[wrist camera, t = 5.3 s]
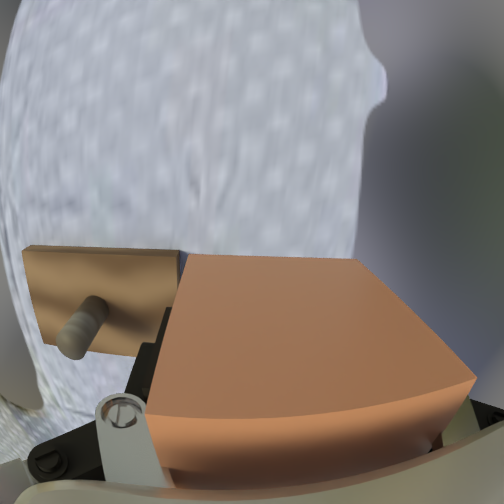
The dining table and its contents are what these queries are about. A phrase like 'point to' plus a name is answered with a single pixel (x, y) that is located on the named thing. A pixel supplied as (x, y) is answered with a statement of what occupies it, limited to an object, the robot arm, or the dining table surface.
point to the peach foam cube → (294, 375)
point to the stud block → (100, 296)
